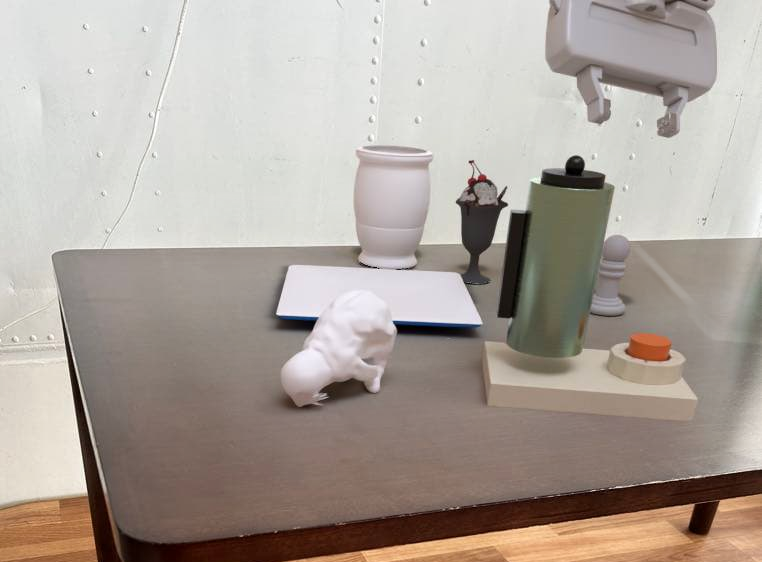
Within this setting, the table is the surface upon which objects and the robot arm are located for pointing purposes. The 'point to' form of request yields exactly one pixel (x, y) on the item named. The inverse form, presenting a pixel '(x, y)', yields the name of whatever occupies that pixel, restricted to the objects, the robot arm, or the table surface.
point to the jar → (391, 204)
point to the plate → (381, 294)
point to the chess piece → (610, 277)
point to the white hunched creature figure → (342, 347)
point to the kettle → (554, 260)
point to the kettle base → (589, 383)
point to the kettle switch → (649, 347)
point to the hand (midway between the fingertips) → (634, 128)
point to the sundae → (479, 220)
